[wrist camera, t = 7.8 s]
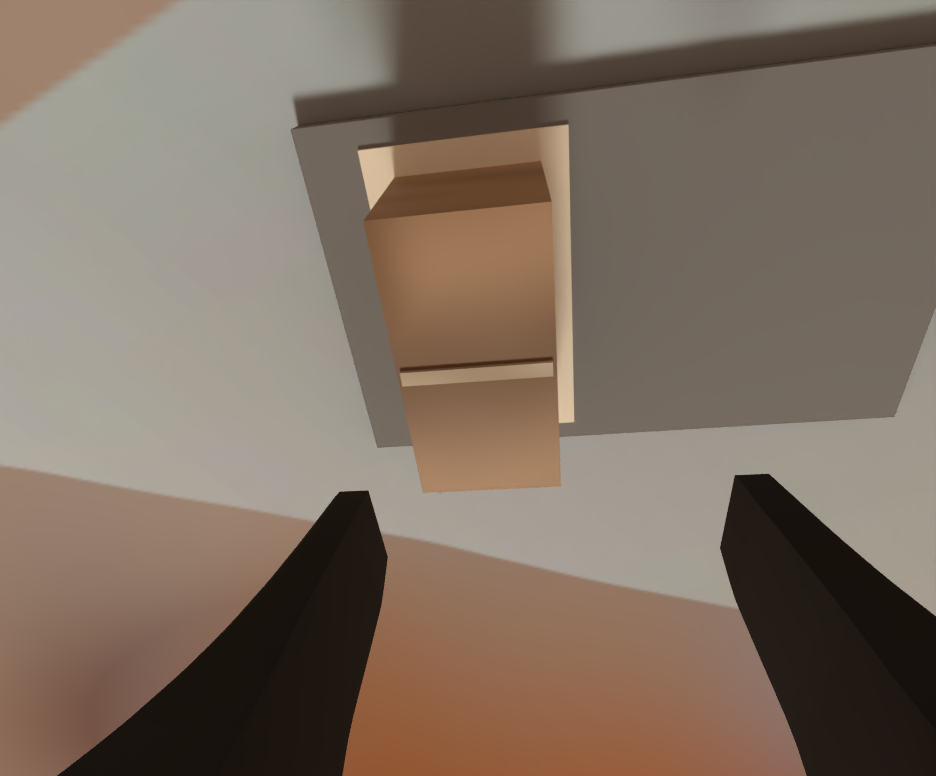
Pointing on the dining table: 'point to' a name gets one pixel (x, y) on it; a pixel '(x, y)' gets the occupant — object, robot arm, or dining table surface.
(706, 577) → the dining table surface
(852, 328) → the mat
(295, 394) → the dining table surface
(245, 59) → the dining table surface
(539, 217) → the brown rectangular block
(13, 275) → the dining table surface
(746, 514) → the robot arm
